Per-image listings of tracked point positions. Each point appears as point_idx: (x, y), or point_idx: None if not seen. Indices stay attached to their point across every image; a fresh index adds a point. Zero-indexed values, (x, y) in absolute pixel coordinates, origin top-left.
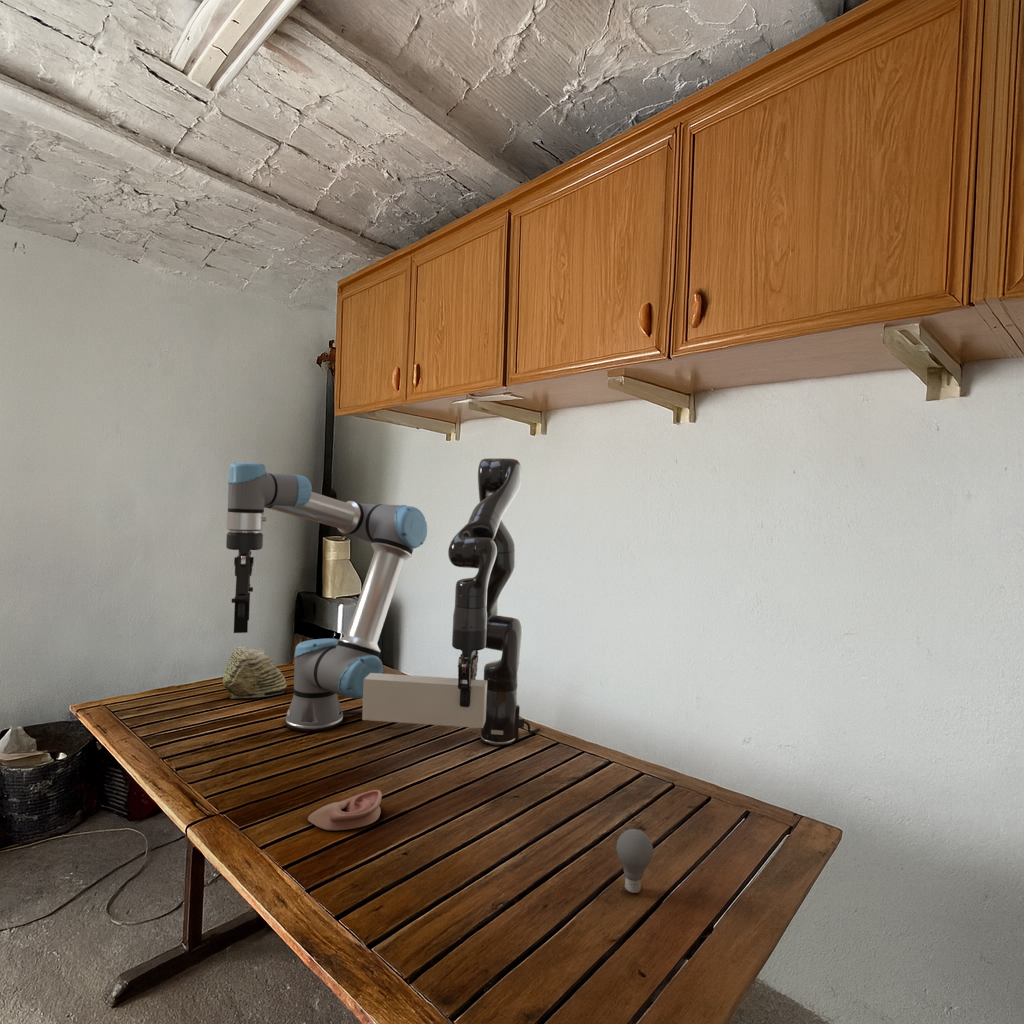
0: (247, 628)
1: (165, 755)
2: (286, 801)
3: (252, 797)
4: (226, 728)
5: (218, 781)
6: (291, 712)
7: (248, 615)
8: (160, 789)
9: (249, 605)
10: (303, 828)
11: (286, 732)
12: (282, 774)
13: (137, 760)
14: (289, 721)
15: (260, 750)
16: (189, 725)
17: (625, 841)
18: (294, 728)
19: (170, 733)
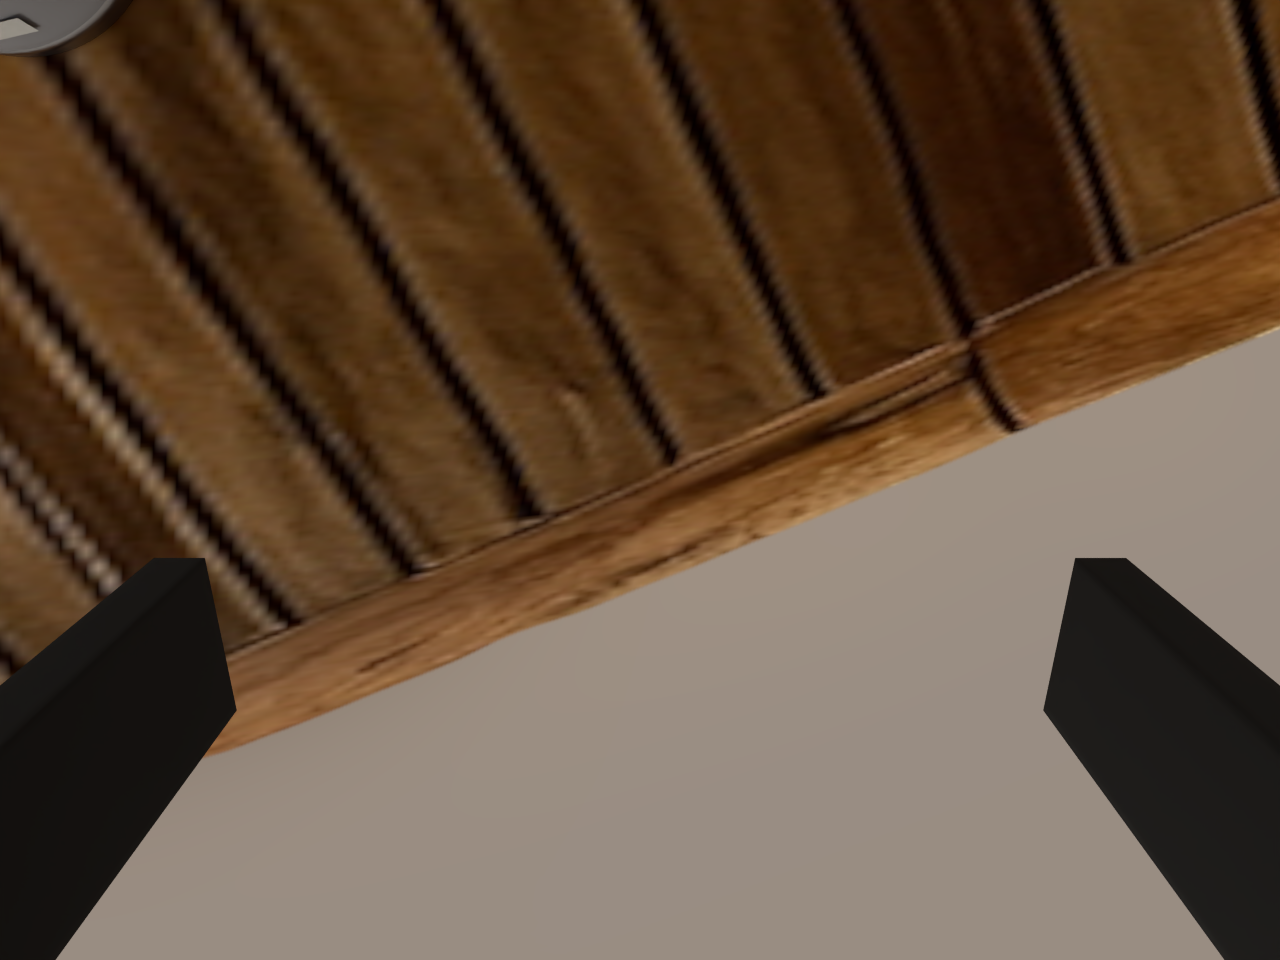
0: (1158, 588)
1: (382, 568)
2: (972, 82)
3: (881, 224)
4: (79, 362)
5: (687, 360)
6: (18, 12)
7: (164, 605)
8: (697, 545)
9: (38, 702)
10: (1235, 18)
11: (146, 55)
12: (693, 92)
13: (416, 648)
14: (68, 31)
15: (386, 195)
16: (37, 520)
17: None
18: (121, 5)
19: None
